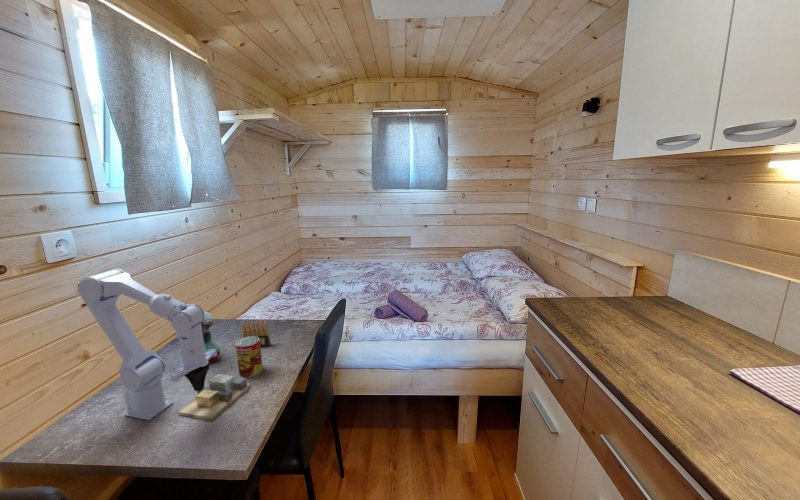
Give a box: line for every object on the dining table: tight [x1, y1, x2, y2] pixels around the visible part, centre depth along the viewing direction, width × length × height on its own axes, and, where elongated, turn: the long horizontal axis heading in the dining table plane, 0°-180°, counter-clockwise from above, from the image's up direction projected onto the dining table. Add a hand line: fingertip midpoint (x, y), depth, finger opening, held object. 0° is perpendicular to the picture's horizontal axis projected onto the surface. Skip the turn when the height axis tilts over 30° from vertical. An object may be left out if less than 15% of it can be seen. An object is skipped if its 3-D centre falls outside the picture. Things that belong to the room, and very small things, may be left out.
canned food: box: [235, 336, 263, 379], centre depth 121 cm, size 8×8×12 cm
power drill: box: [200, 311, 221, 364], centre depth 128 cm, size 7×16×20 cm, turn 41°
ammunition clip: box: [241, 319, 272, 348], centre depth 139 cm, size 11×2×12 cm, turn 98°
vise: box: [177, 376, 252, 422], centre depth 106 cm, size 12×17×4 cm
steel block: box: [208, 373, 235, 392], centre depth 108 cm, size 4×6×5 cm, turn 76°
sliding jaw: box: [195, 386, 232, 408], centre depth 104 cm, size 11×6×3 cm, turn 76°
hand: (199, 389), depth 100 cm, fingers closed
